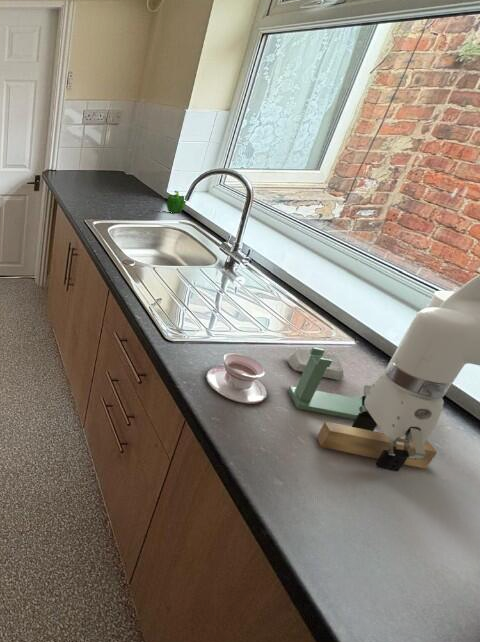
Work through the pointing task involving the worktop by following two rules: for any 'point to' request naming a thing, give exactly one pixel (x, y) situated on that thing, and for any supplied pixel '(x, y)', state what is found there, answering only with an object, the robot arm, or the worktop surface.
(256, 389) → the teacup
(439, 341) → the robot arm
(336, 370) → the grey stone block
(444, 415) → the worktop surface
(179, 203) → the bell pepper
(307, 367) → the hanger stand
